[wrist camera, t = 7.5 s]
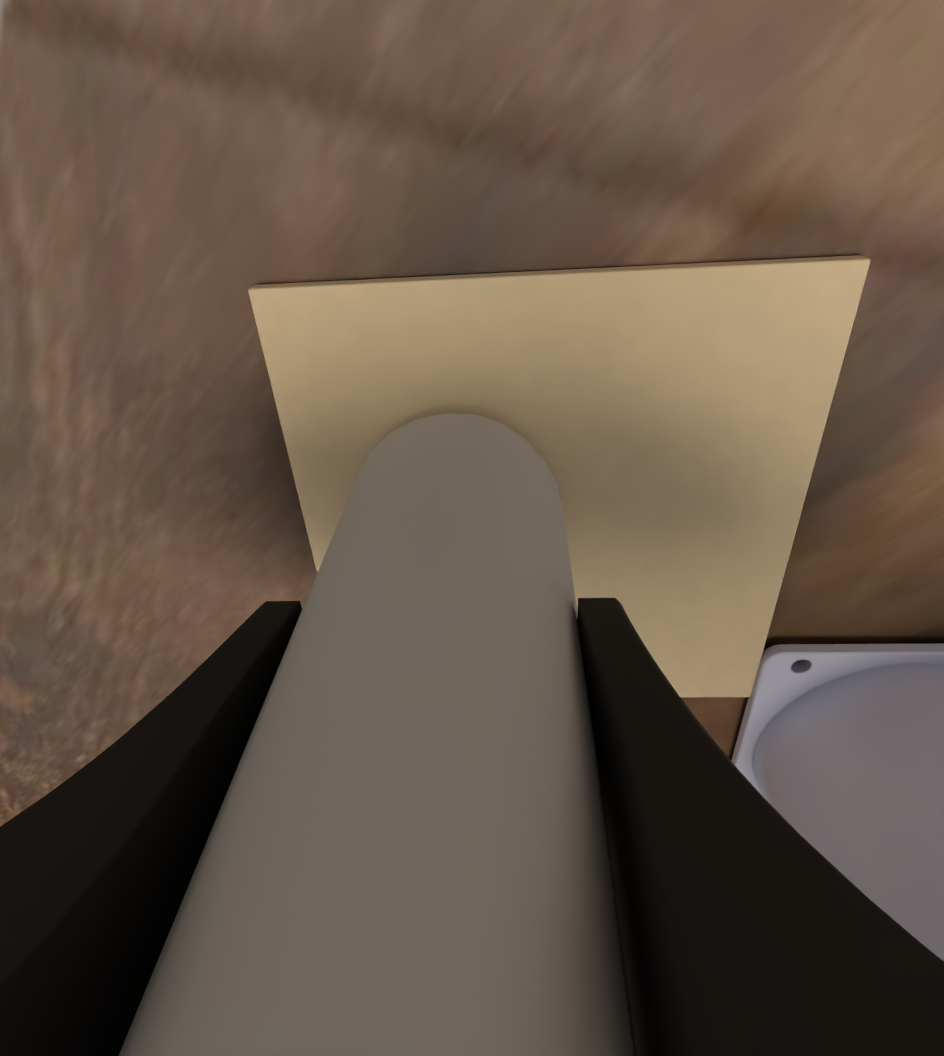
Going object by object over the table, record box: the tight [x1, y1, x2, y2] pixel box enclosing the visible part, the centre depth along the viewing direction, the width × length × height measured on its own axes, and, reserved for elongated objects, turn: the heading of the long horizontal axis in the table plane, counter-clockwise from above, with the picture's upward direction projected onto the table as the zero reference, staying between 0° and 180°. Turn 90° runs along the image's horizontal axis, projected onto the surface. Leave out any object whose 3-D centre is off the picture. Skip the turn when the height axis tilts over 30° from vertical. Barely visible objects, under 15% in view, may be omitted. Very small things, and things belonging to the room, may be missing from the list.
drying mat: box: [248, 255, 870, 697], centre depth 16 cm, size 12×12×1 cm
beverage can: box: [119, 413, 637, 1056], centre depth 10 cm, size 5×5×12 cm
